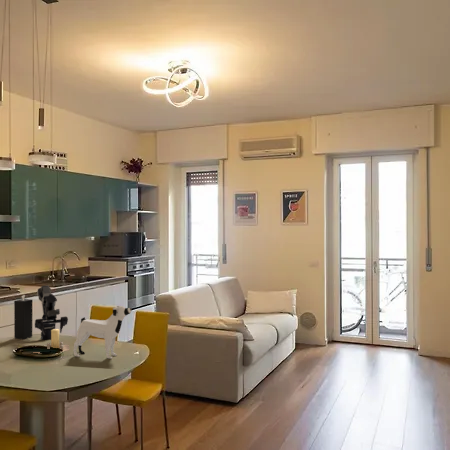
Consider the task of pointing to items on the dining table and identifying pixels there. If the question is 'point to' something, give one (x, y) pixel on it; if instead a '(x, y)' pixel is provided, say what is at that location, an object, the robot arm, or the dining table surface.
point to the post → (55, 338)
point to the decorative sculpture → (101, 330)
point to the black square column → (23, 318)
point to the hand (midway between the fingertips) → (52, 333)
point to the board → (61, 346)
